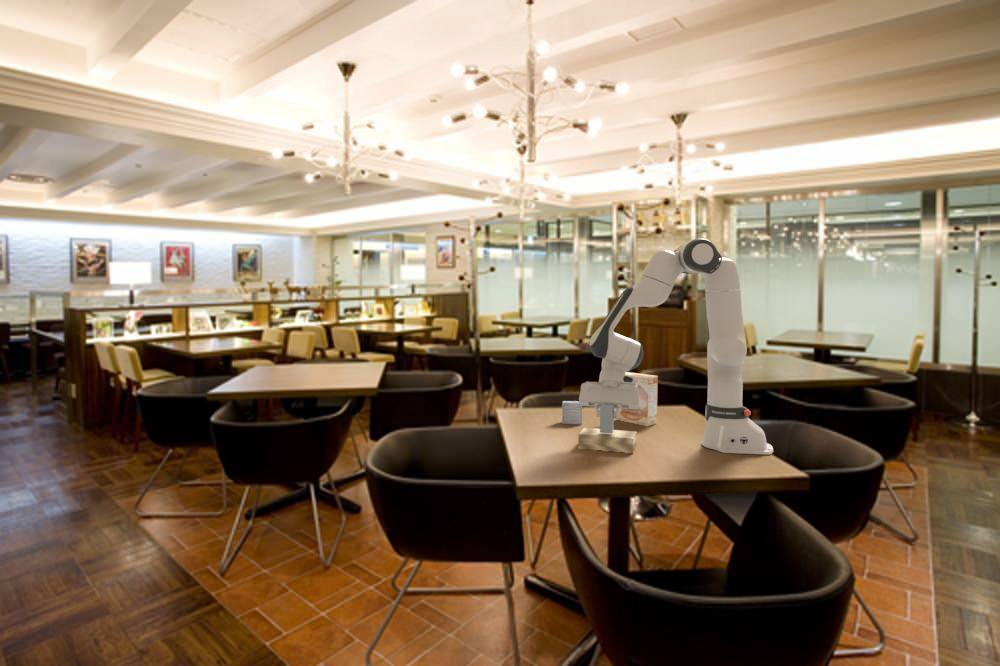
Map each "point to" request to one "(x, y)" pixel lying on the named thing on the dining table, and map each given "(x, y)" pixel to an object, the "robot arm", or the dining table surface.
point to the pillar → (606, 418)
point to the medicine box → (571, 412)
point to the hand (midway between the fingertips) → (606, 416)
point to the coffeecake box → (643, 401)
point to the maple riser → (607, 440)
